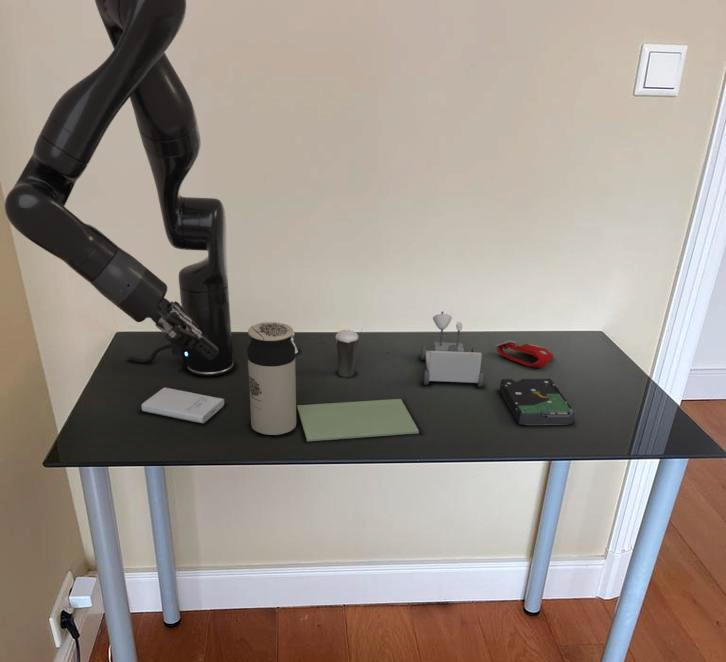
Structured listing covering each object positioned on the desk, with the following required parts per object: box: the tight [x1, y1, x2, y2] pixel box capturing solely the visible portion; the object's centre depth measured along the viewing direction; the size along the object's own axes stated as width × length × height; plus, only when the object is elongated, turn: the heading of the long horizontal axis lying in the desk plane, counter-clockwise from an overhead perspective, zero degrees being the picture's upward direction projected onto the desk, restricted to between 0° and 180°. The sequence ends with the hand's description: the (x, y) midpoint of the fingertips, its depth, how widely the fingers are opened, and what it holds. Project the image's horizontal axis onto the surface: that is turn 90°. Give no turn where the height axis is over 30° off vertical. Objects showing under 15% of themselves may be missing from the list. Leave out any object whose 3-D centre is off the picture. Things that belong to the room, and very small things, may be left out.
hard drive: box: [141, 387, 225, 424], centre depth 140 cm, size 2×8×12 cm
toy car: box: [420, 311, 485, 388], centre depth 156 cm, size 18×10×12 cm
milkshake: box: [335, 328, 363, 378], centre depth 153 cm, size 4×5×10 cm
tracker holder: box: [494, 339, 554, 369], centre depth 163 cm, size 12×4×10 cm
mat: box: [296, 398, 420, 442], centre depth 138 cm, size 20×13×1 cm, turn 102°
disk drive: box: [499, 378, 575, 426], centre depth 144 cm, size 10×3×15 cm
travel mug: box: [246, 321, 297, 436], centre depth 131 cm, size 8×8×18 cm
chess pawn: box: [291, 330, 299, 355], centre depth 162 cm, size 3×3×5 cm
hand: (215, 354), depth 126 cm, fingers closed
